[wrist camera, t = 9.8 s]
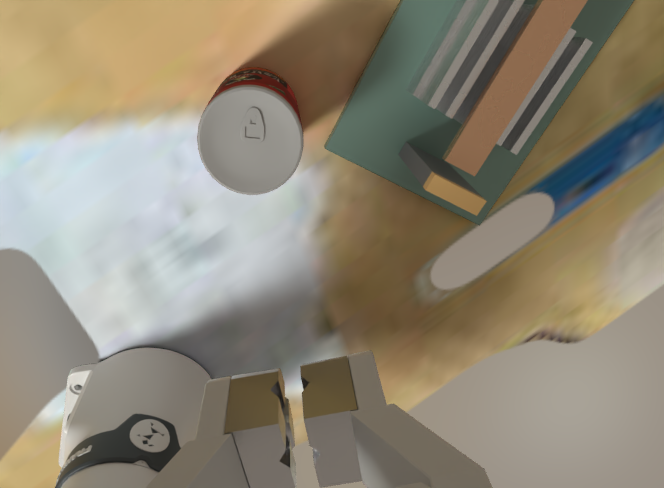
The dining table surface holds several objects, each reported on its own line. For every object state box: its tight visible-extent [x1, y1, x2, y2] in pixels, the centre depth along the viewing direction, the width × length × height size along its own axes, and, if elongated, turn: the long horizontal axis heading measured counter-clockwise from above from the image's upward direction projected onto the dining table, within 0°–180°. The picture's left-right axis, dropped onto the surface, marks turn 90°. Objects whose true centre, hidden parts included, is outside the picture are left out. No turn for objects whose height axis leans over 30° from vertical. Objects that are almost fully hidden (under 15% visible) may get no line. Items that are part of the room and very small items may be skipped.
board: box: [324, 0, 634, 225], centre depth 42 cm, size 24×18×11 cm
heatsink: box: [406, 0, 593, 155], centre depth 43 cm, size 10×10×6 cm
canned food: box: [197, 67, 303, 195], centre depth 42 cm, size 8×8×11 cm
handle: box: [442, 0, 588, 176], centre depth 40 cm, size 17×3×2 cm, turn 152°
